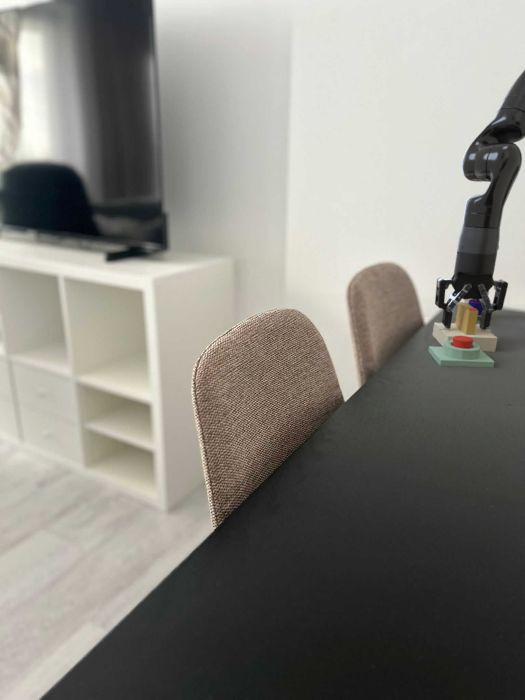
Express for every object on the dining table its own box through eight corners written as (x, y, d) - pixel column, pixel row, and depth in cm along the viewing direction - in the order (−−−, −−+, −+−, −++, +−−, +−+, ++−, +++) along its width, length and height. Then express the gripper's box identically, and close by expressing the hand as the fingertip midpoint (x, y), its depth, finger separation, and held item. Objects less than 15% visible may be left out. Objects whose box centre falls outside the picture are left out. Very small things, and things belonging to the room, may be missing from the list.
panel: (479, 336, 115) (481, 322, 114) (499, 352, 104) (502, 338, 103) (428, 334, 115) (430, 321, 114) (443, 350, 104) (446, 336, 103)
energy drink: (458, 316, 130) (465, 269, 126) (467, 313, 134) (474, 267, 130) (478, 321, 127) (486, 273, 123) (487, 317, 130) (496, 270, 126)
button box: (478, 353, 103) (480, 339, 102) (493, 367, 96) (496, 352, 95) (428, 351, 104) (430, 337, 103) (439, 366, 96) (442, 350, 95)
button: (467, 344, 101) (469, 335, 100) (474, 350, 97) (475, 341, 97) (449, 343, 101) (450, 335, 100) (455, 349, 97) (456, 340, 97)
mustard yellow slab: (455, 324, 112) (458, 301, 110) (463, 325, 112) (467, 301, 110) (465, 334, 105) (469, 309, 104) (474, 334, 105) (478, 309, 104)
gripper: (506, 248, 106) (492, 324, 112) (436, 245, 107) (425, 322, 112) (521, 253, 99) (506, 334, 105) (446, 251, 100) (435, 332, 105)
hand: (464, 328), depth 108 cm, fingers open, 7 cm apart
